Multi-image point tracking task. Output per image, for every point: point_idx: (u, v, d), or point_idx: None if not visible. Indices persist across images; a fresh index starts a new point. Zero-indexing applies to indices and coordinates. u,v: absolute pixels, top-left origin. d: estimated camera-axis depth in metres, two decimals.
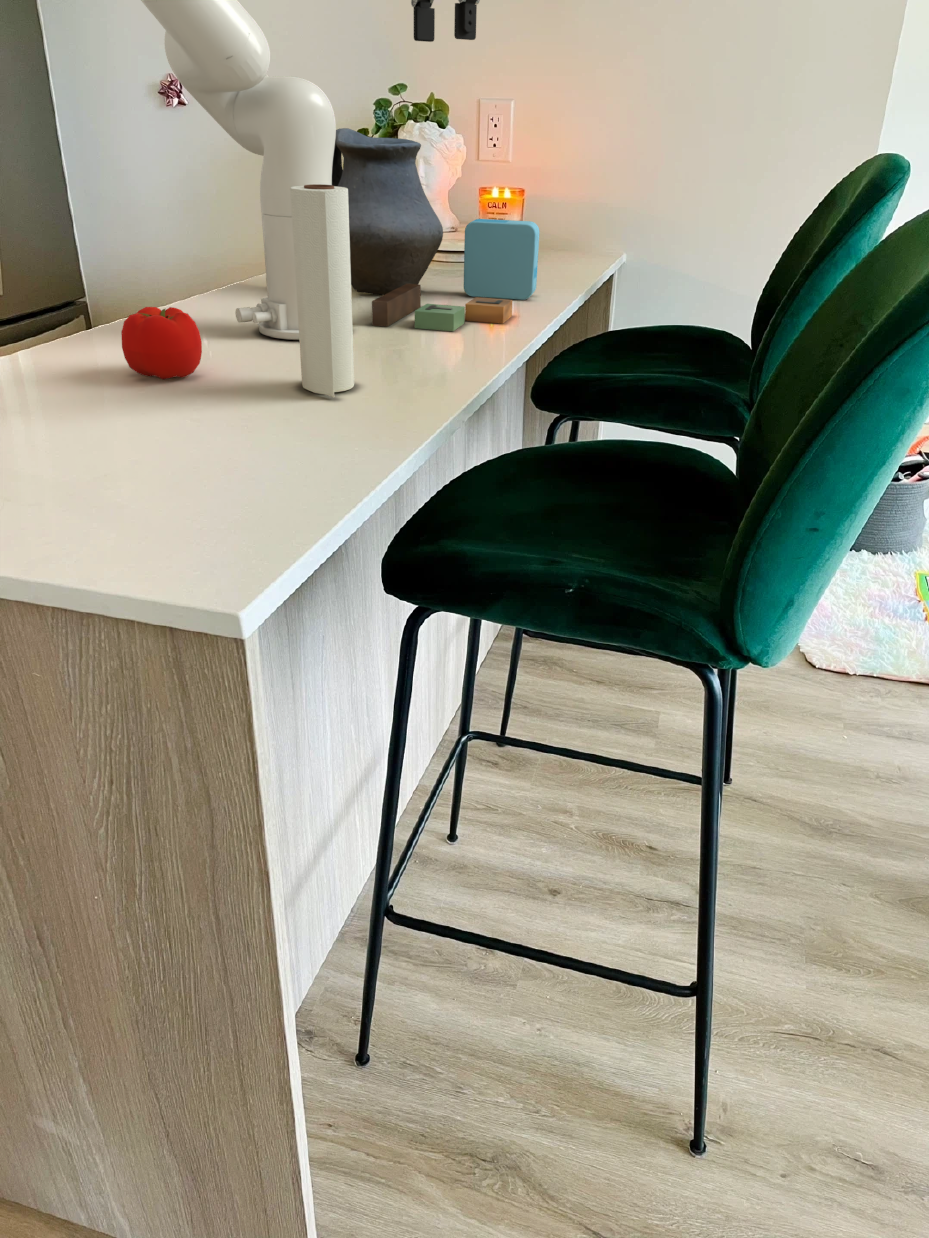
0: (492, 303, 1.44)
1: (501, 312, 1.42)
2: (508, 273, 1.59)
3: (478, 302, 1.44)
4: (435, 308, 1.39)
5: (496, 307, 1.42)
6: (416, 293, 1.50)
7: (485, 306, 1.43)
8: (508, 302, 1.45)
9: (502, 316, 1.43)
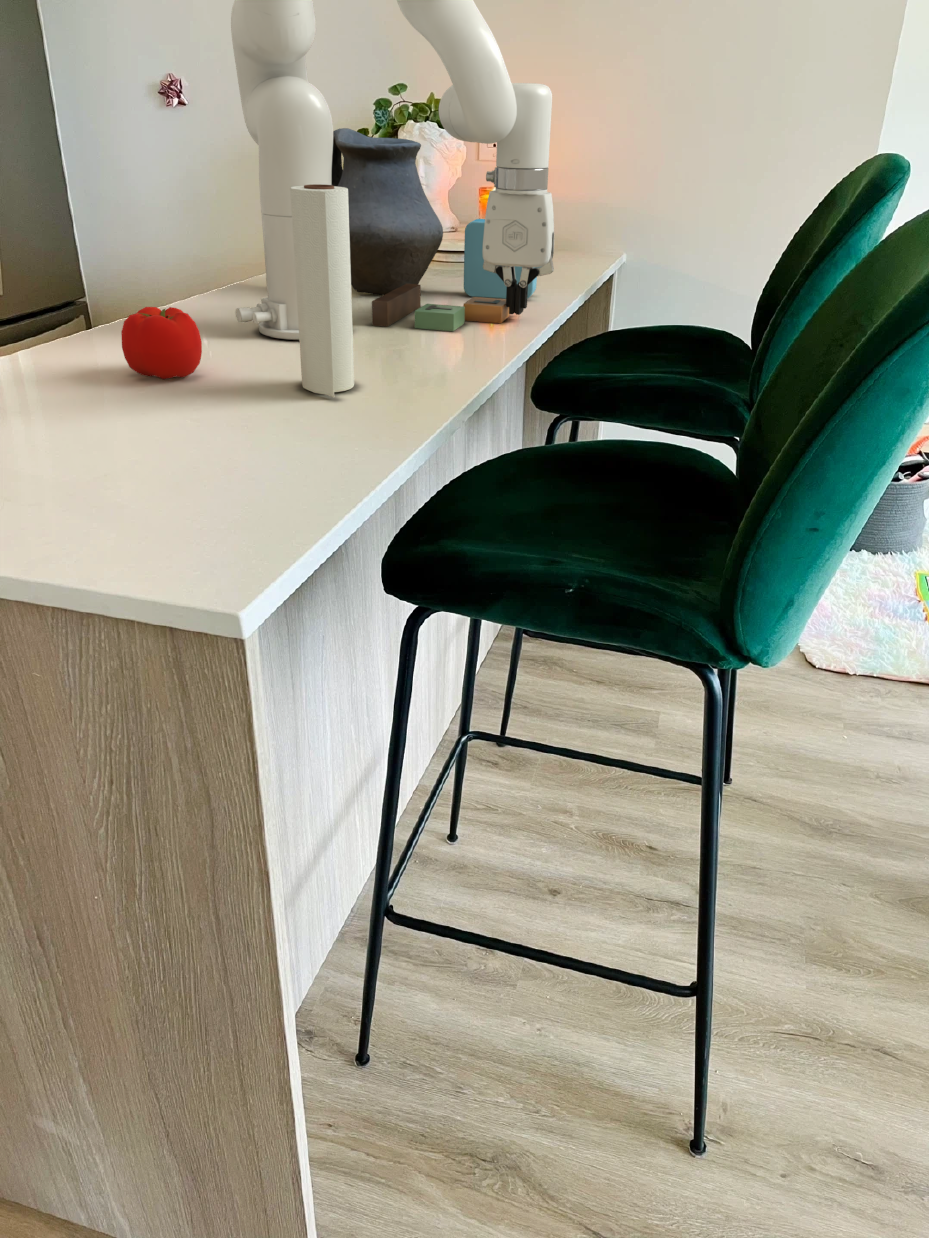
0: (490, 303, 1.44)
1: (499, 311, 1.42)
2: None
3: (476, 302, 1.44)
4: (435, 308, 1.39)
5: (494, 307, 1.42)
6: (416, 293, 1.50)
7: (483, 306, 1.43)
8: None
9: (500, 316, 1.43)
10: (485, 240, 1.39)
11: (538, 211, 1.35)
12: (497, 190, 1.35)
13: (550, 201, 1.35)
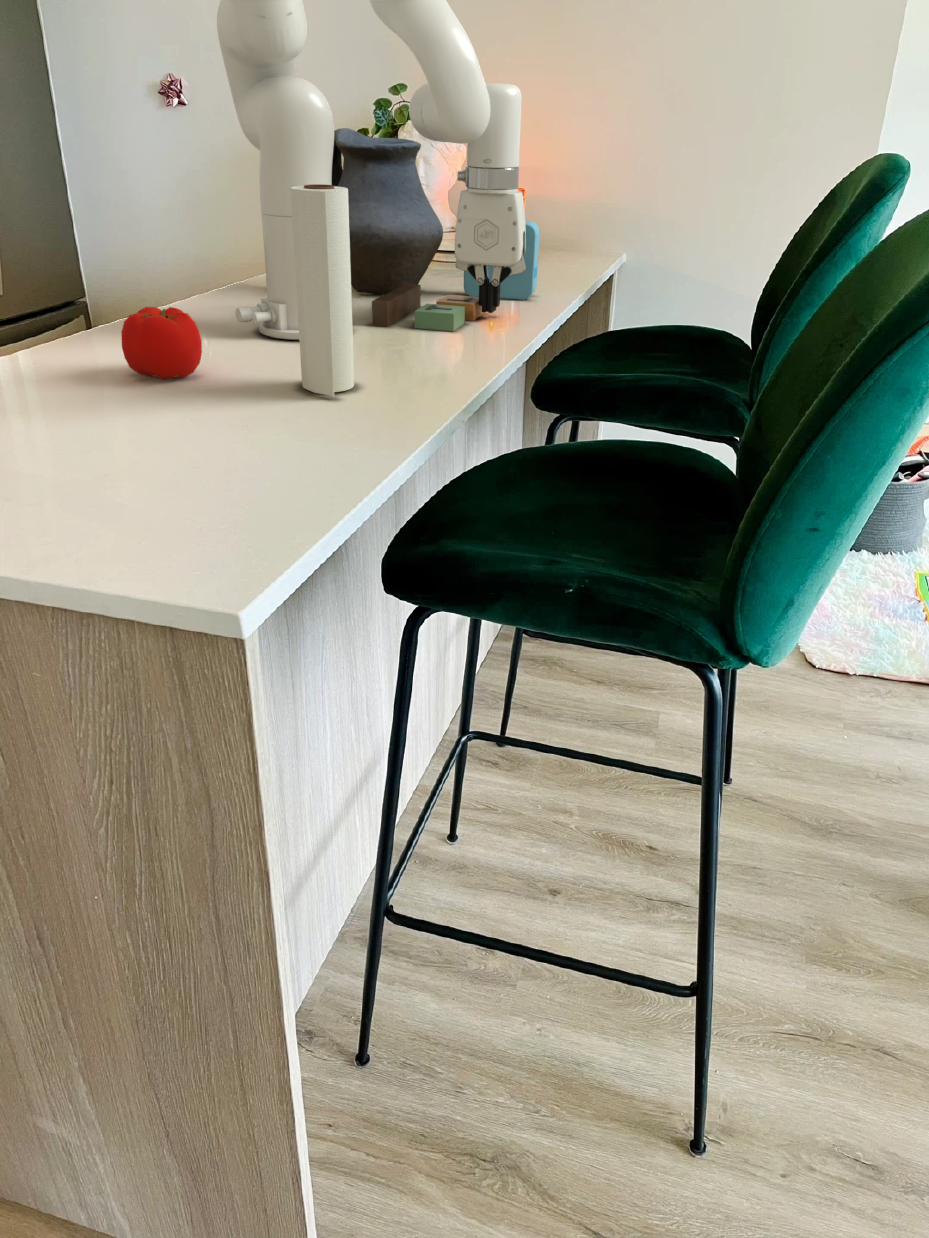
0: (463, 300, 1.45)
1: (472, 309, 1.44)
2: None
3: (449, 299, 1.45)
4: (435, 308, 1.39)
5: (466, 304, 1.43)
6: (416, 293, 1.50)
7: (456, 303, 1.44)
8: None
9: (472, 313, 1.44)
10: (457, 239, 1.40)
11: (509, 210, 1.36)
12: (468, 189, 1.36)
13: (521, 200, 1.36)
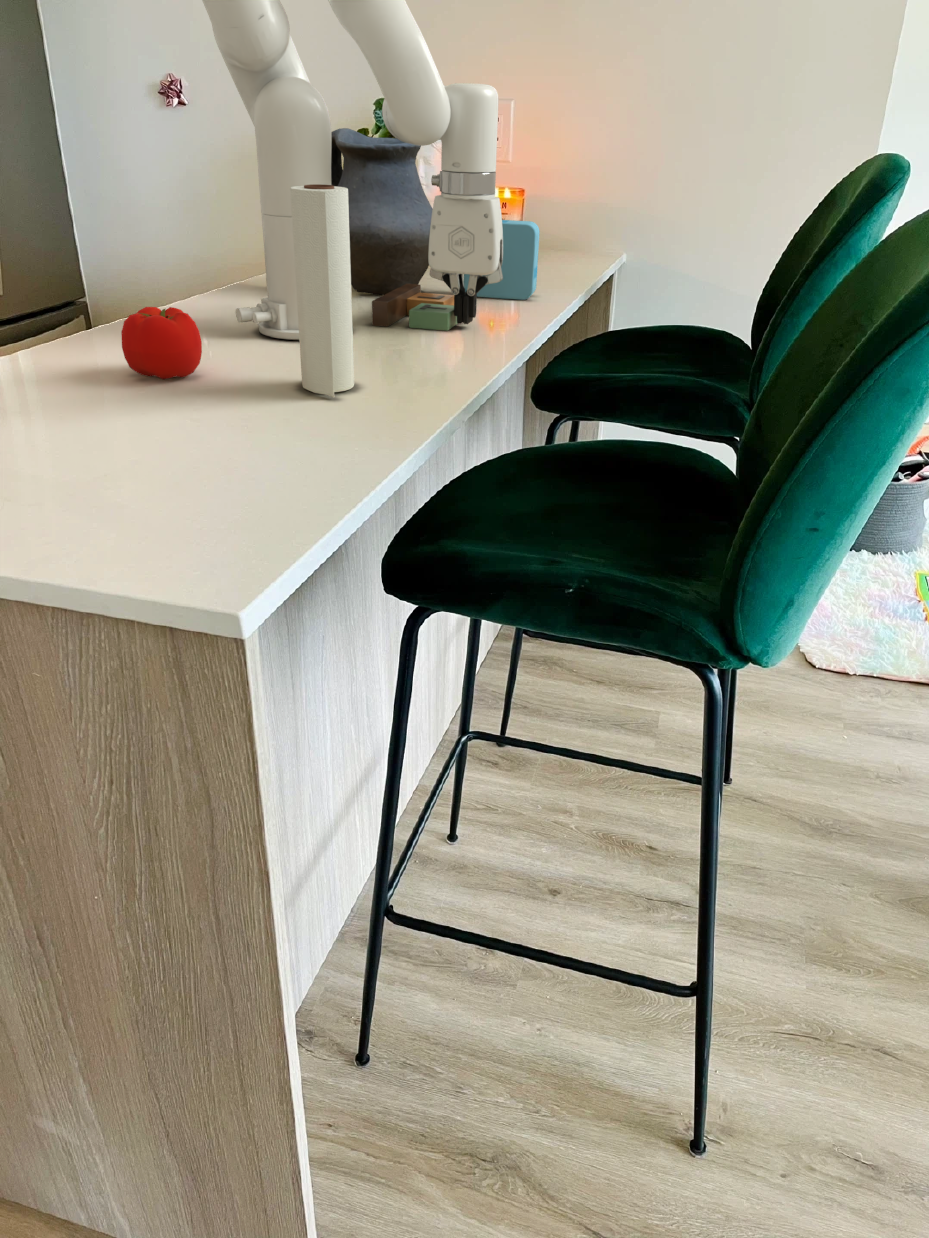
0: (433, 298, 1.46)
1: None
2: (508, 273, 1.59)
3: (420, 297, 1.46)
4: (429, 307, 1.40)
5: (436, 302, 1.45)
6: (416, 293, 1.50)
7: (426, 301, 1.45)
8: (449, 297, 1.47)
9: None
10: (431, 246, 1.33)
11: (485, 217, 1.29)
12: (442, 195, 1.30)
13: (497, 206, 1.30)
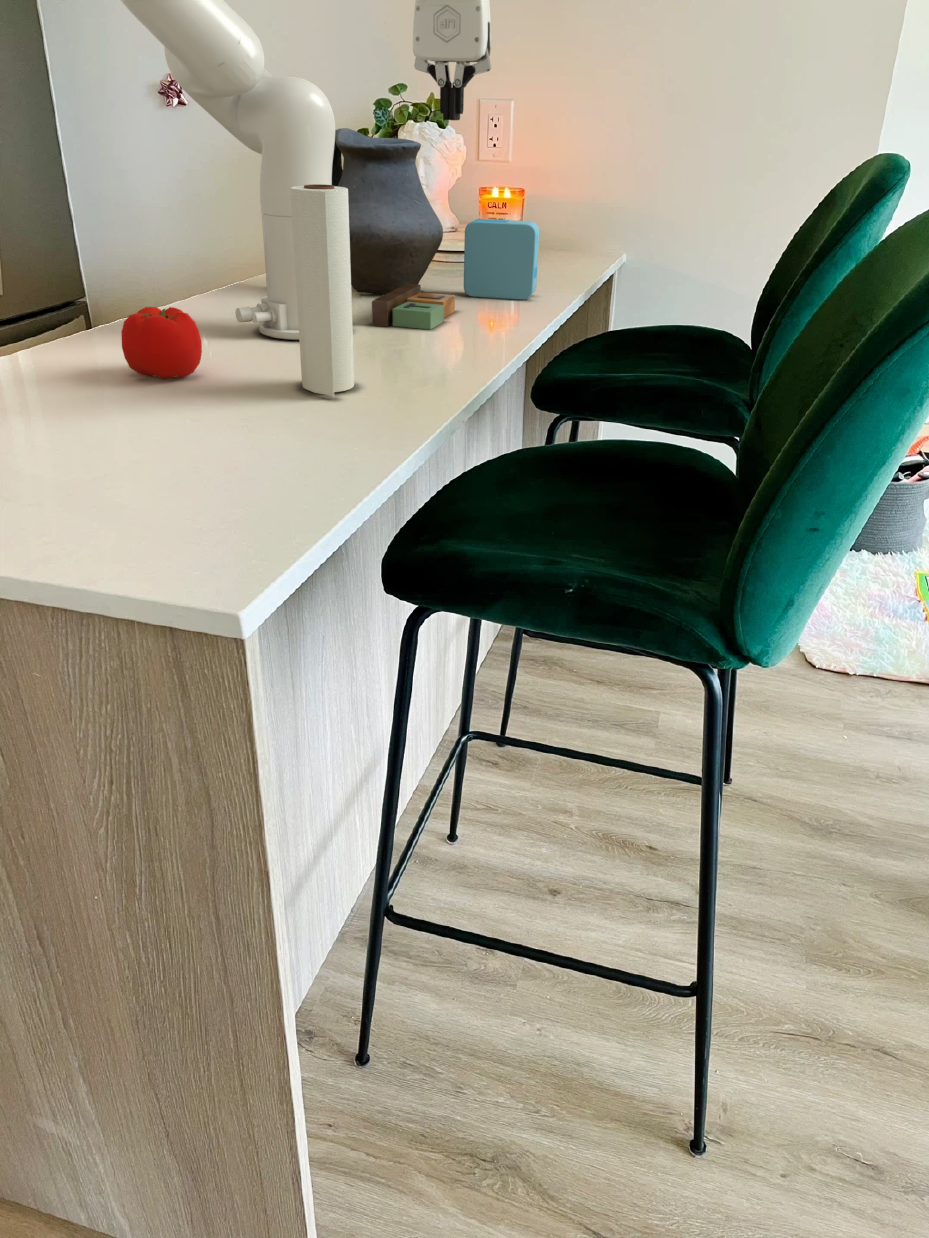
0: (433, 298, 1.46)
1: None
2: (508, 273, 1.59)
3: (420, 297, 1.46)
4: (413, 306, 1.40)
5: (436, 302, 1.45)
6: (416, 293, 1.50)
7: (426, 301, 1.45)
8: (449, 297, 1.47)
9: None
10: (415, 31, 1.27)
11: None
12: None
13: None
